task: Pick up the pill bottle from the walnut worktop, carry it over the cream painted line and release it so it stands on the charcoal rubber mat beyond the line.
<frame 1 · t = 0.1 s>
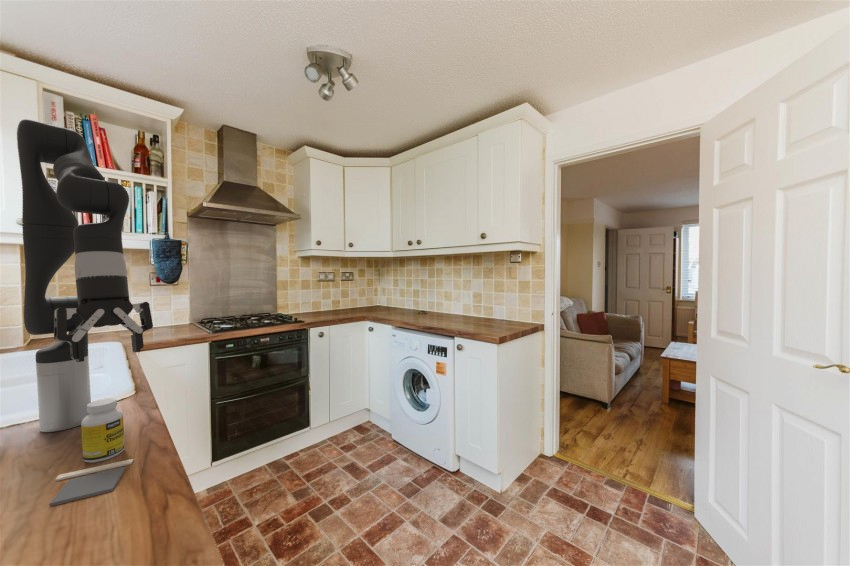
hand: (109, 356, 67), 22 cm above the table, tool pointing down, fingers open, 8 cm apart
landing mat: (90, 486, 62), on the table
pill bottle: (104, 456, 72), on the table
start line: (96, 470, 67), on the table
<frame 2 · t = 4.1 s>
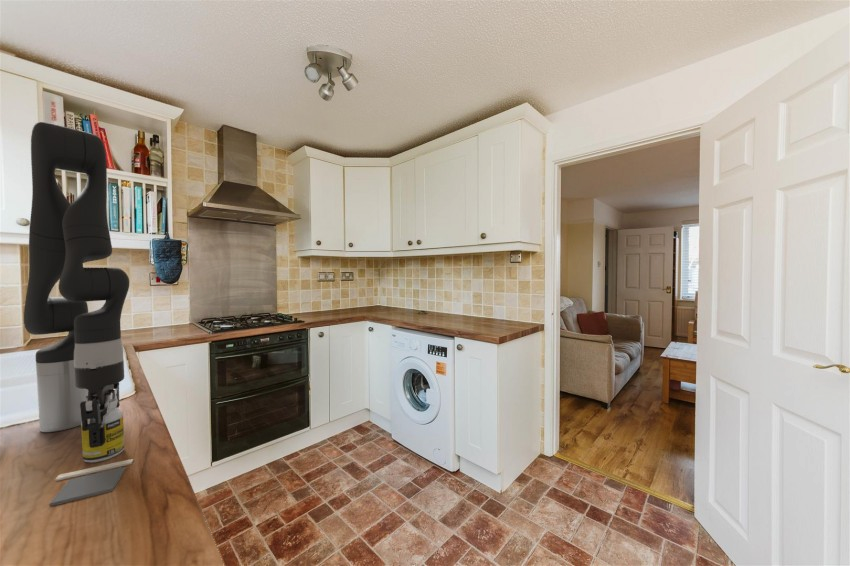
hand: (103, 438, 72), 4 cm above the table, tool pointing down, fingers closed on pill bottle, 6 cm apart
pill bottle: (104, 456, 72), on the table, touching gripper
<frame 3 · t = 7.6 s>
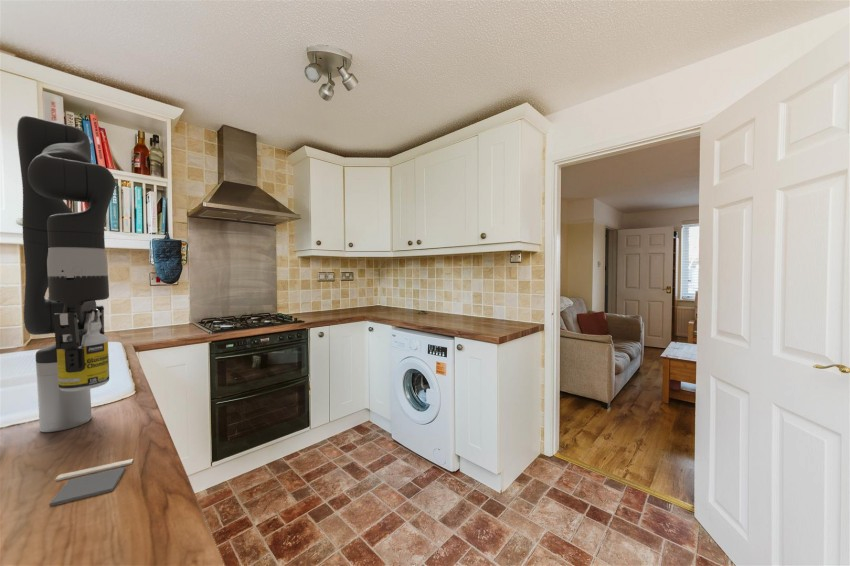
hand: (83, 366, 61), 22 cm above the table, tool pointing down, fingers closed on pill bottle, 6 cm apart
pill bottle: (85, 387, 61), point 18 cm above the table, touching gripper
when the fingers open (6 cm above the table, at t = 11.5 s): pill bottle drops 1 cm, resting on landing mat.
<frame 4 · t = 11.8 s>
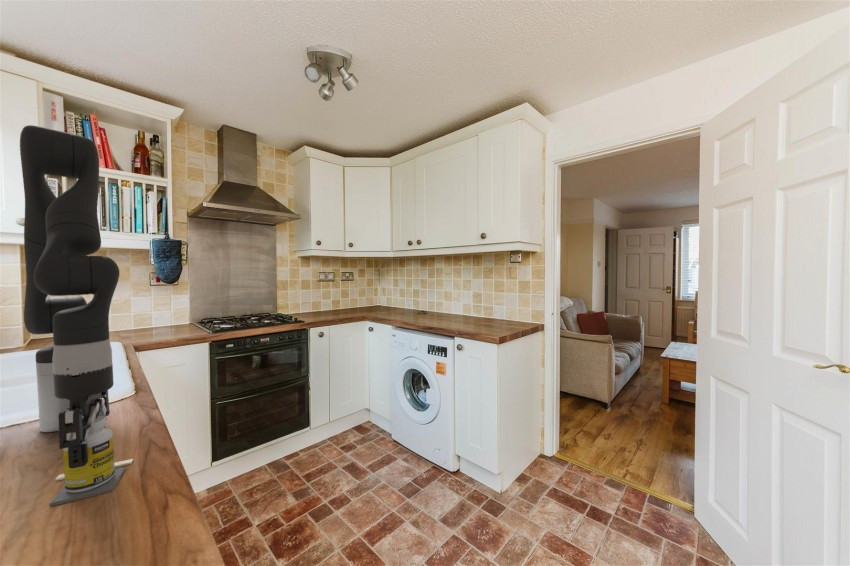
hand: (88, 454, 61), 6 cm above the table, tool pointing down, fingers open, 8 cm apart
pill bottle: (91, 484, 62), resting on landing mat
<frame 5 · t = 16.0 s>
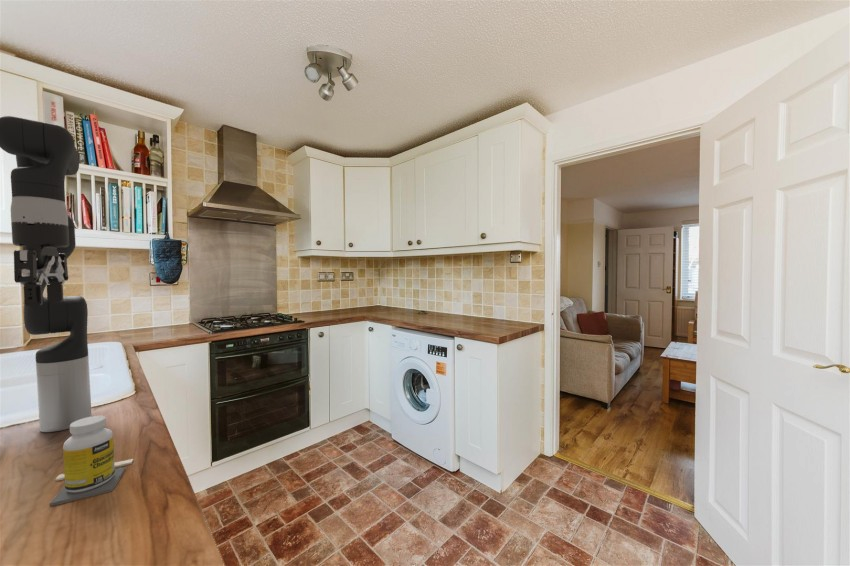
hand: (45, 303, 68), 33 cm above the table, tool pointing down, fingers open, 8 cm apart
nothing on the table moved.
at the end: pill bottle inside the target area (0.8 cm from its centre), resting on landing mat; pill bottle tilted 0°; the gripper is holding nothing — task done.
